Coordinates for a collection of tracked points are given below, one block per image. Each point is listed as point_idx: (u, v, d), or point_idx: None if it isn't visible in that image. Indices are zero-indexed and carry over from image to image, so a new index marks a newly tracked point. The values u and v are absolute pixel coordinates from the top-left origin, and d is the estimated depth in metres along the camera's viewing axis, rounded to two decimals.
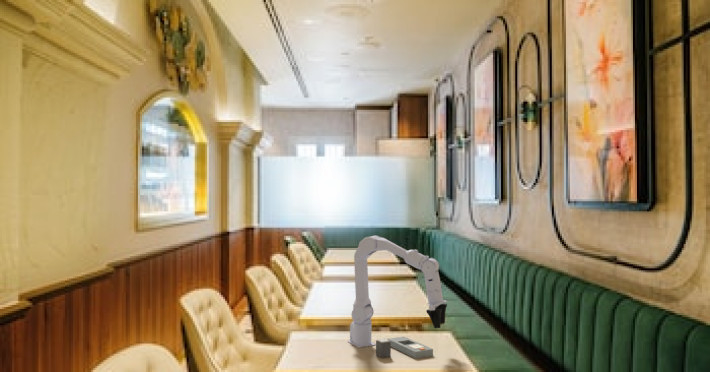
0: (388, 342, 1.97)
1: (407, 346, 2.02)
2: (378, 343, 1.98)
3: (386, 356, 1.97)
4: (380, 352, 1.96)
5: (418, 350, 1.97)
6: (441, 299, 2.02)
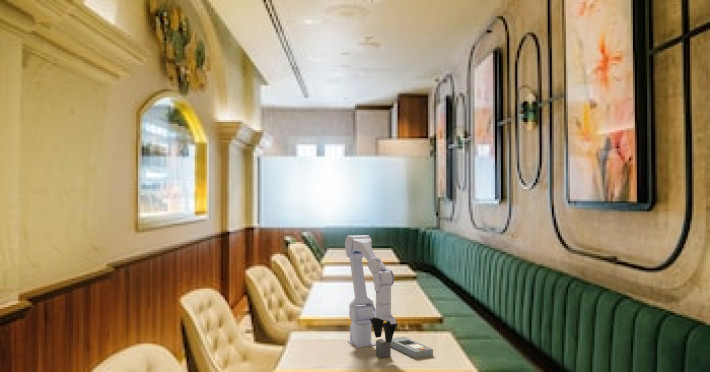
0: (388, 342, 1.97)
1: (407, 346, 2.02)
2: (378, 343, 1.98)
3: (386, 356, 1.97)
4: (380, 352, 1.96)
5: (418, 350, 1.97)
6: (376, 312, 1.98)
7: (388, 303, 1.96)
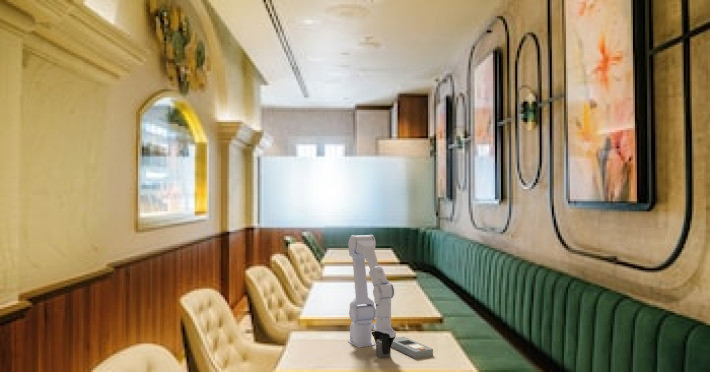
0: None
1: (407, 346, 2.02)
2: (378, 343, 1.98)
3: (386, 356, 1.97)
4: (380, 352, 1.96)
5: (418, 350, 1.97)
6: (375, 325, 1.98)
7: (388, 316, 1.96)
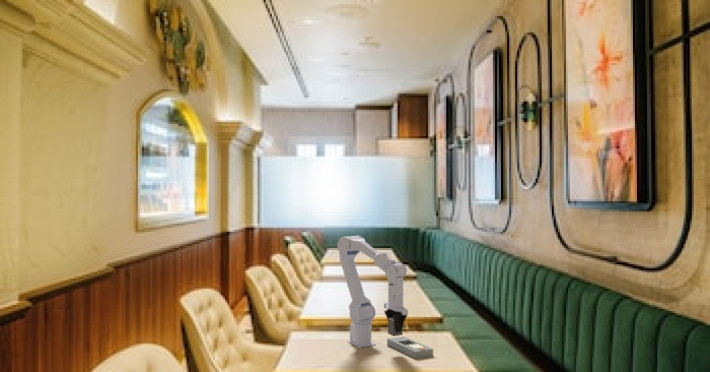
0: None
1: (407, 346, 2.02)
2: (390, 321, 2.03)
3: (398, 334, 2.02)
4: (392, 330, 2.01)
5: (418, 350, 1.97)
6: (388, 304, 2.03)
7: (402, 294, 2.02)
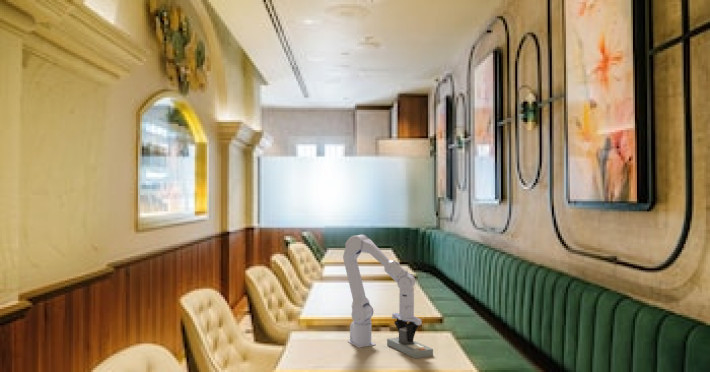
0: None
1: (407, 346, 2.02)
2: (402, 332, 2.07)
3: None
4: (404, 340, 2.05)
5: (418, 350, 1.97)
6: (399, 314, 2.07)
7: (413, 304, 2.08)
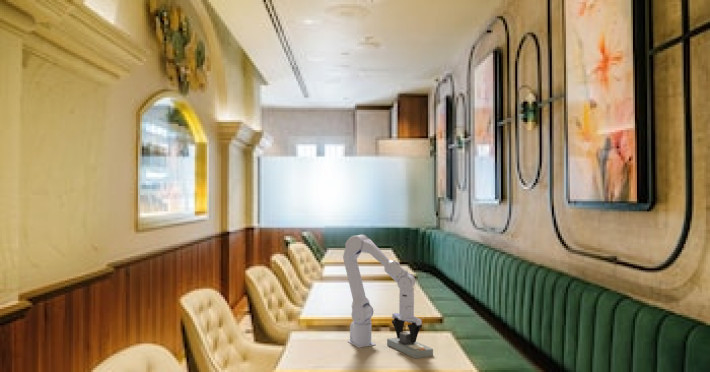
0: None
1: (407, 346, 2.02)
2: (402, 336, 2.07)
3: None
4: (405, 344, 2.06)
5: (418, 350, 1.97)
6: (399, 314, 2.07)
7: (413, 304, 2.08)
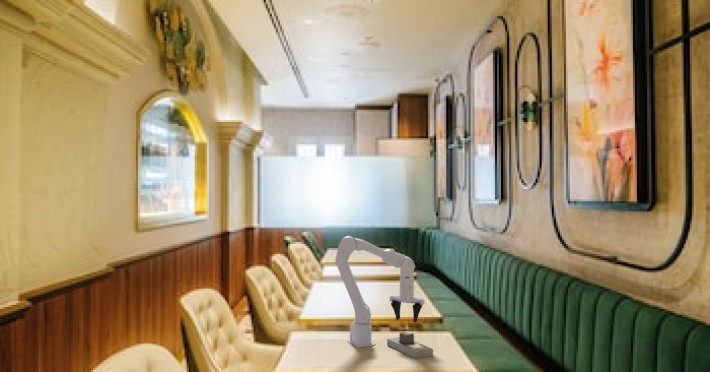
0: (412, 334, 2.07)
1: (407, 346, 2.02)
2: (402, 336, 2.07)
3: None
4: (405, 344, 2.06)
5: (418, 350, 1.97)
6: (401, 296, 2.13)
7: None
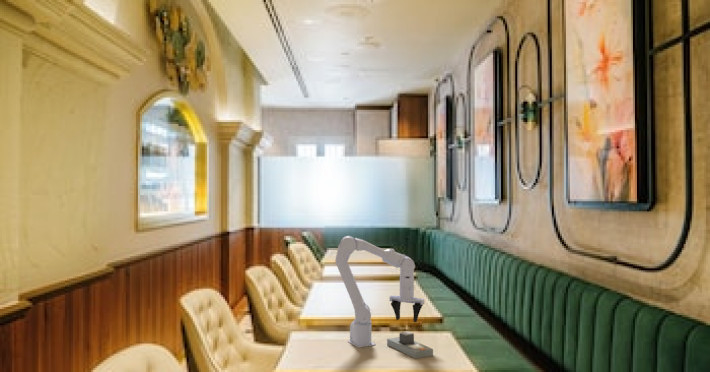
0: (412, 334, 2.07)
1: (407, 346, 2.02)
2: (402, 336, 2.07)
3: None
4: (405, 344, 2.06)
5: (418, 350, 1.97)
6: (401, 296, 2.14)
7: None
